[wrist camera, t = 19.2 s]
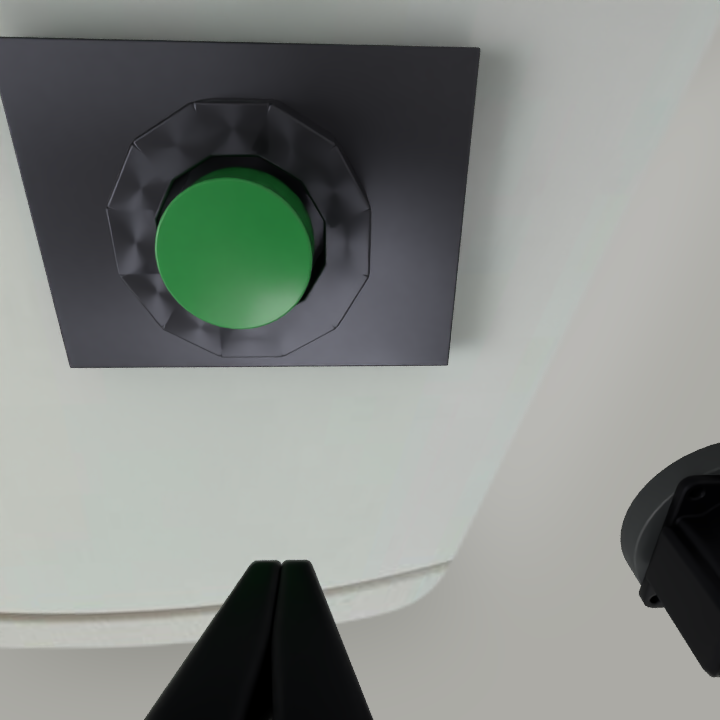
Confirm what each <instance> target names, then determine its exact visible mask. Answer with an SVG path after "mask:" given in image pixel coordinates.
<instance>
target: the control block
mask: <svg viewBox="0 0 720 720" xmlns="http://www.w3.org/2000/svg"><path fill="white" fill-rule="evenodd" d="M479 57H480V48H479V47H438V46H394V45H349V44H305V43H261V42H216V41H172V40H127V39H83V38H38V37H0V94H1V98H2V102H3V106H4V110H5V114H6V118H7V122H8V126H9V130H10V134H11V138H12V141H13V145H14V149H15V153H16V157H17V161H18V165H19V169H20V173H21V177H22V181H23V185H24V188H25V192H26V196H27V200H28V204H29V208H30V212H31V216H32V220H33V224H34V228H35V232H36V236H37V239H38V243H39V247H40V251H41V255H42V259H43V263H44V267H45V271H46V275H47V279H48V283H49V287H50V290H51V294H52V298H53V302H54V306H55V310H56V314H57V318H58V322H59V326H60V330H61V334H62V338H63V341H64V345H65V349H66V353H67V357H68V361H69V365H70V368H134V367H288V366H441V365H448V359H449V349H450V340H451V330H452V320H453V310H454V301H455V291H456V281H457V271H458V262H459V252H460V242H461V232H462V223H463V213H464V203H465V193H466V184H467V174H468V164H469V154H470V145H471V135H472V125H473V115H474V105H475V96H476V86H477V76H478V66H479ZM227 167H248V168H253V169H258V170H261V171H263V172H266V173H269V174H271V175H273V176H275V177H276V178H278V179H279V180H281V181H282V182H284V183H285V184H286V185H287V186H289V187H290V188H291V189H292V190H293V191H294V192H295V193H296V195H297V196H298V197H299V198H300V200H301V201H302V203H303V204H304V206H305V208H306V210H307V212H308V214H309V217H310V219H311V222H312V226H313V231H314V254H313V264H312V271H311V277H310V280H309V283H308V286H307V288H306V290H305V292H304V294H303V296H302V298H301V299H300V300H299V302H298V303H297V304H296V305H295V307H294V308H293V309H292V310H291V311H289V312H288V313H287V314H286V315H285V316H283V317H281V318H280V319H278V320H277V321H274V322H272V323H270V324H268V325H264V326H261V327H257V328H252V329H229V328H223V327H219V326H216V325H212V324H210V323H208V322H205V321H203V320H201V319H199V318H197V317H196V316H194V315H193V314H191V313H190V312H188V311H187V310H186V309H185V308H184V307H182V306H181V305H180V304H179V303H178V302H177V301H176V299H175V298H174V297H173V296H172V295H171V293H170V292H169V290H168V289H167V287H166V286H165V284H164V282H163V280H162V278H161V275H160V273H159V270H158V267H157V262H156V257H155V236H156V231H157V227H158V224H159V221H160V218H161V217H162V215H163V213H164V211H165V209H166V208H167V206H168V205H169V204H170V202H171V201H172V200H173V199H174V198H175V197H176V196H177V195H178V194H180V193H181V192H182V191H184V190H185V189H186V188H188V187H189V186H190V185H191V184H193V183H194V182H195V181H197V180H198V179H200V178H201V177H202V176H204V175H206V174H208V173H210V172H213V171H215V170H218V169H222V168H227Z"/></svg>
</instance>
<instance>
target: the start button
mask: <svg viewBox="0 0 720 720" xmlns="http://www.w3.org/2000/svg"><path fill="white" fill-rule="evenodd" d="M313 254H314V231H313V226H312V222H311V219H310V217H309V214H308V212H307V210H306V208H305V206H304V204H303V203H302V201H301V200H300V198H299V197H298V196H297V195H296V193H295V192H294V191H293V190H292V189H291V188H290V187H289V186H287V185H286V184H285V183H284V182H282V181H281V180H279V179H278V178H276V177H275V176H273V175H271V174H269V173H266V172H263V171H261V170H258V169H253V168H248V167H227V168H222V169H218V170H215V171H213V172H210V173H208V174H206V175H204V176H202V177H201V178H200V179H198V180H197V181H195V182H194V183H193V184H191V185H190V186H189V187H188V188H186V189H185V190H184V191H182V192H181V193H180V194H178V195H177V196H176V197H175V198H174V199H173V200H172V201H171V202H170V204H169V205H168V206H167V208H166V209H165V211H164V213H163V215H162V217H161V218H160V221H159V224H158V227H157V231H156V236H155V257H156V262H157V267H158V270H159V273H160V275H161V278H162V280H163V282H164V284H165V286H166V287H167V289H168V290H169V292H170V293H171V295H172V296H173V297H174V298H175V299H176V301H177V302H178V303H179V304H180V305H181V306H182V307H184V308H185V309H186V310H187V311H188V312H190V313H191V314H193V315H194V316H196V317H197V318H199V319H201V320H203V321H205V322H208V323H210V324H212V325H216V326H219V327H223V328H229V329H252V328H257V327H261V326H264V325H268V324H270V323H272V322H274V321H277V320H278V319H280V318H281V317H283V316H285V315H286V314H287V313H288V312H289V311H291V310H292V309H293V308H294V307H295V305H296V304H297V303H298V302H299V300H300V299H301V298H302V296H303V294H304V292H305V290H306V288H307V286H308V283H309V280H310V277H311V271H312V264H313Z"/></svg>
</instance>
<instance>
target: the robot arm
mask: <svg viewBox="0 0 720 720" xmlns="http://www.w3.org/2000/svg"><path fill="white" fill-rule="evenodd" d="M639 595H640V597H641V599H642V601H643V602H644V604H645V606H647V607H651V608H662V607H664V608H665V609H666V611H667V612H668V614H669V616H670V617H671V619H672V620H673V622H674V623H675V625H676V627H677V628H678V630H679V631H680V633H681V635H682V636H683V638H684V639H685V641H686V643H687V644H688V646H689V647H690V649H691V651H692V652H693V654H694V655H695V657H696V659H697V660H698V662H699V663H700V665H701V666H702V668H703V669H704V670H705V671H706V672H707V673H708V674H709V675H710V676H711V677H720V475H693V476H688V477H686V478H684V479H683V480H681V481H680V482H679V484H678V485H677V488H676V490H675V493H674V496H673V499H672V501H671V504H670V507H669V510H668V513H667V515H666V518H665V521H664V524H663V526H662V529H661V532H660V535H659V538H658V540H657V543H656V546H655V549H654V551H653V554H652V557H651V560H650V563H649V565H648V568H647V571H646V574H645V576H644V579H643V582H642V585H641V588H640V591H639ZM144 720H373V718H372V716H371V713H370V711H369V708H368V705H367V703H366V700H365V698H364V695H363V693H362V690H361V687H360V685H359V682H358V680H357V677H356V675H355V672H354V670H353V667H352V665H351V662H350V660H349V657H348V655H347V652H346V650H345V647H344V645H343V642H342V640H341V637H340V634H339V632H338V629H337V627H336V624H335V622H334V619H333V616H332V614H331V611H330V609H329V606H328V604H327V601H326V599H325V596H324V594H323V591H322V589H321V586H320V584H319V581H318V578H317V576H316V573H315V571H314V568H313V566H312V564H311V562H310V561H308V560H286V561H284V562H283V563H282V564H281V562H279V561H277V560H260V561H254V562H253V563H252V564H251V565H250V566H249V567H248V569H247V570H246V572H245V573H244V575H243V576H242V578H241V579H240V580H239V582H238V583H237V585H236V586H235V588H234V589H233V591H232V592H231V594H230V595H229V596H228V598H227V599H226V601H225V602H224V604H223V605H222V607H221V608H220V610H219V611H218V613H217V614H216V615H215V617H214V618H213V620H212V621H211V623H210V624H209V626H208V627H207V629H206V630H205V632H204V633H203V634H202V636H201V637H200V639H199V640H198V642H197V643H196V645H195V646H194V648H193V649H192V651H191V652H190V653H189V655H188V657H187V658H186V659H185V661H184V662H183V664H182V665H181V667H180V668H179V670H178V671H177V672H176V674H175V676H174V677H173V678H172V680H171V681H170V683H169V684H168V686H167V687H166V688H165V690H164V691H163V693H162V694H161V696H160V697H159V699H158V700H157V702H156V703H155V705H154V706H153V707H152V709H151V710H150V712H149V714H148V715H147V716H146V718H145V719H144Z"/></svg>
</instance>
